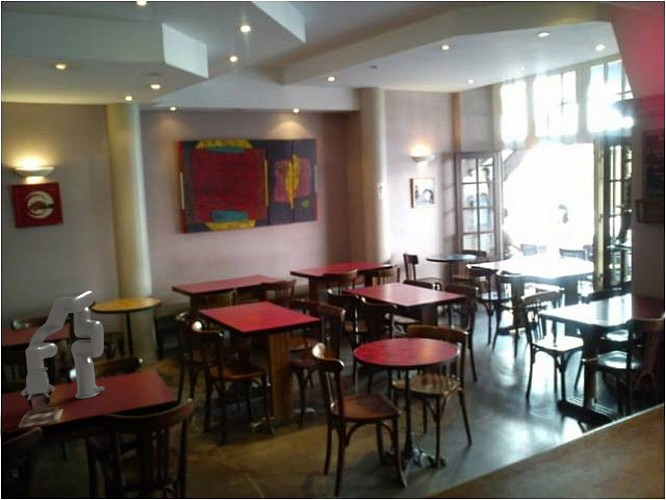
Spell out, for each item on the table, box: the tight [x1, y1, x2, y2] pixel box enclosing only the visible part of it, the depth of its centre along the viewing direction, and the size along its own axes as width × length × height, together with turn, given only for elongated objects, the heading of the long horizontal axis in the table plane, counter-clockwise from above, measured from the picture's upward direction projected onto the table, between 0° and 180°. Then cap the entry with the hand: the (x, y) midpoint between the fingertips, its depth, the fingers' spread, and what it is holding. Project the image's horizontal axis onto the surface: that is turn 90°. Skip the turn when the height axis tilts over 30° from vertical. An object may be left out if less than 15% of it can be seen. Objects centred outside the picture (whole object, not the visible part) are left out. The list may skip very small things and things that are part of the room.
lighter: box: [31, 393, 49, 412], centre depth 307 cm, size 8×3×10 cm, turn 148°
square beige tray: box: [18, 406, 64, 429], centre depth 308 cm, size 18×16×3 cm
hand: (39, 405), depth 307 cm, fingers closed on lighter, 6 cm apart
